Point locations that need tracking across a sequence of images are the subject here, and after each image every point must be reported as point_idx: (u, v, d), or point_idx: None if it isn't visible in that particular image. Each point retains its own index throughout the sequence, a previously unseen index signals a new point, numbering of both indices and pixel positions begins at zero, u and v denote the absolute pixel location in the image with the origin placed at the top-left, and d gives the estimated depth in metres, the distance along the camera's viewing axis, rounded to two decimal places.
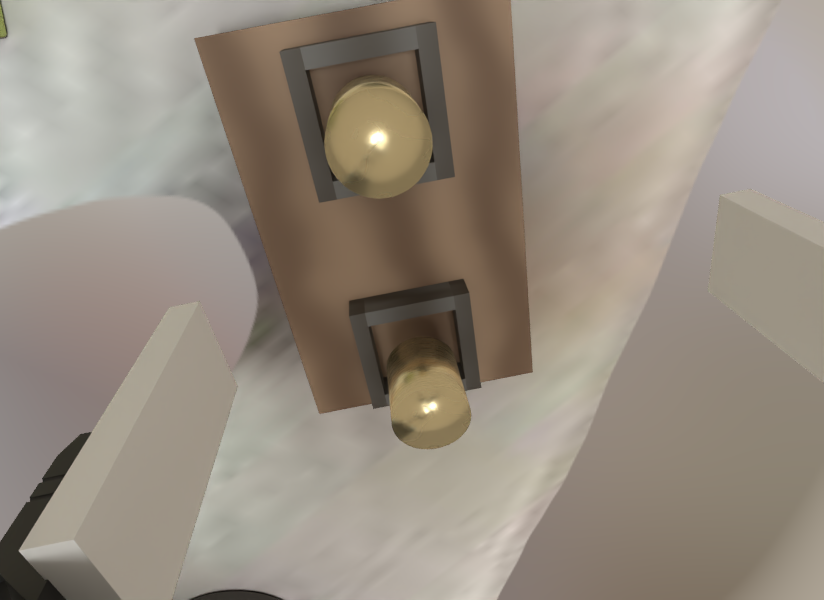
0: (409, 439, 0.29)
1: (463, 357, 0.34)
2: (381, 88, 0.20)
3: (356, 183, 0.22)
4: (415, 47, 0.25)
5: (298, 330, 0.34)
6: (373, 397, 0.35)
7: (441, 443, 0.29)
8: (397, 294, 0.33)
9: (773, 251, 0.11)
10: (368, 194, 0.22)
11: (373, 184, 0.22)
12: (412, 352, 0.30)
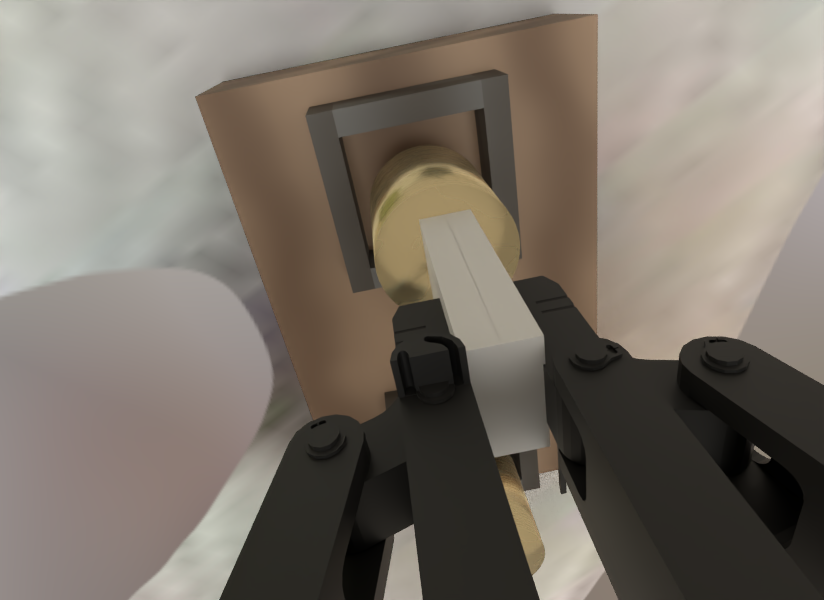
0: None
1: (521, 456, 0.29)
2: (455, 184, 0.15)
3: (415, 302, 0.16)
4: (480, 106, 0.19)
5: None
6: None
7: None
8: None
9: None
10: None
11: None
12: None
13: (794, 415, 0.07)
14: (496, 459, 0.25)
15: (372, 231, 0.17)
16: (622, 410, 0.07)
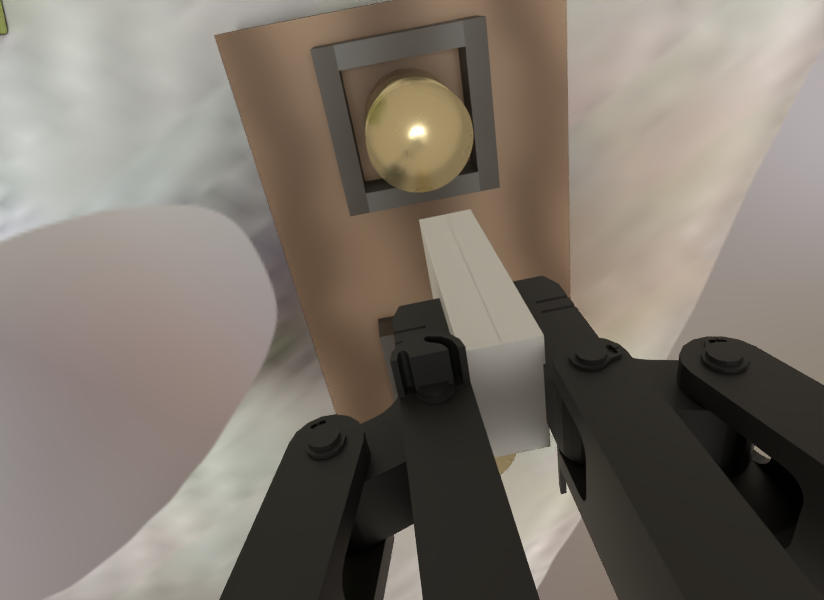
0: None
1: None
2: (424, 82, 0.20)
3: (396, 177, 0.22)
4: (461, 44, 0.22)
5: (323, 350, 0.32)
6: None
7: None
8: None
9: None
10: (407, 188, 0.22)
11: (412, 178, 0.22)
12: None
13: (794, 415, 0.07)
14: None
15: (365, 126, 0.22)
16: (622, 410, 0.07)
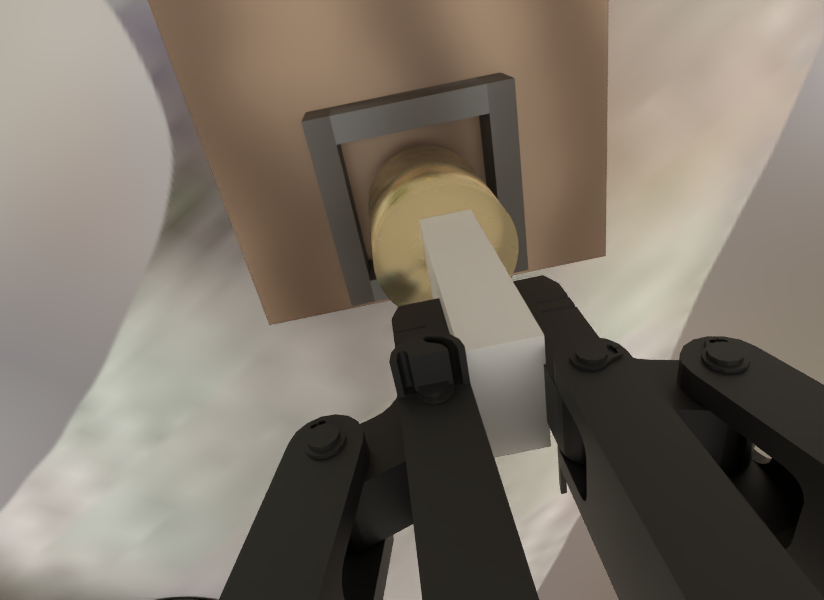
0: (406, 299, 0.16)
1: None
2: None
3: None
4: None
5: (222, 169, 0.20)
6: (352, 284, 0.21)
7: None
8: (387, 97, 0.19)
9: None
10: None
11: None
12: (410, 159, 0.18)
13: (795, 414, 0.07)
14: (453, 156, 0.18)
15: None
16: (623, 410, 0.07)
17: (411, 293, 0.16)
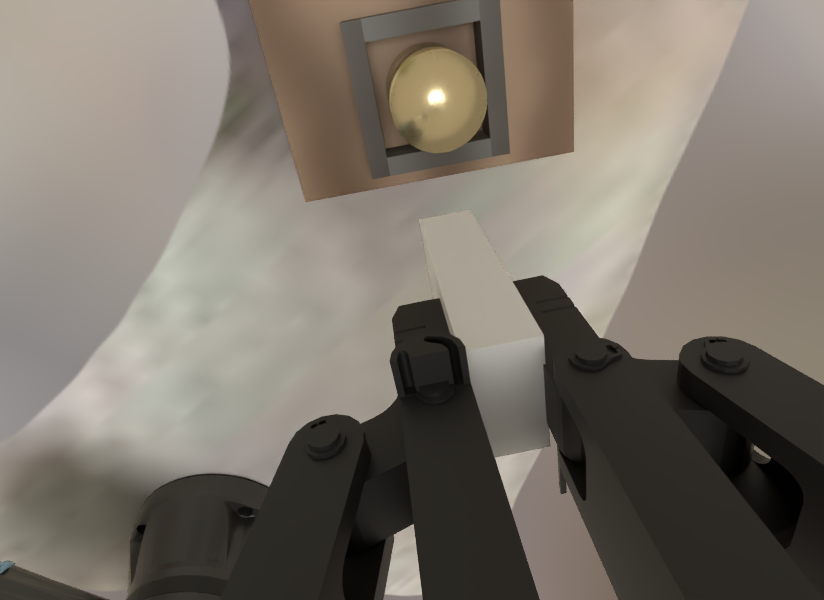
0: (412, 135, 0.24)
1: (488, 102, 0.27)
2: None
3: None
4: None
5: (276, 67, 0.27)
6: (373, 160, 0.28)
7: (450, 144, 0.24)
8: (403, 9, 0.26)
9: None
10: None
11: None
12: (416, 47, 0.25)
13: (794, 415, 0.07)
14: None
15: None
16: (622, 410, 0.07)
17: (415, 131, 0.24)
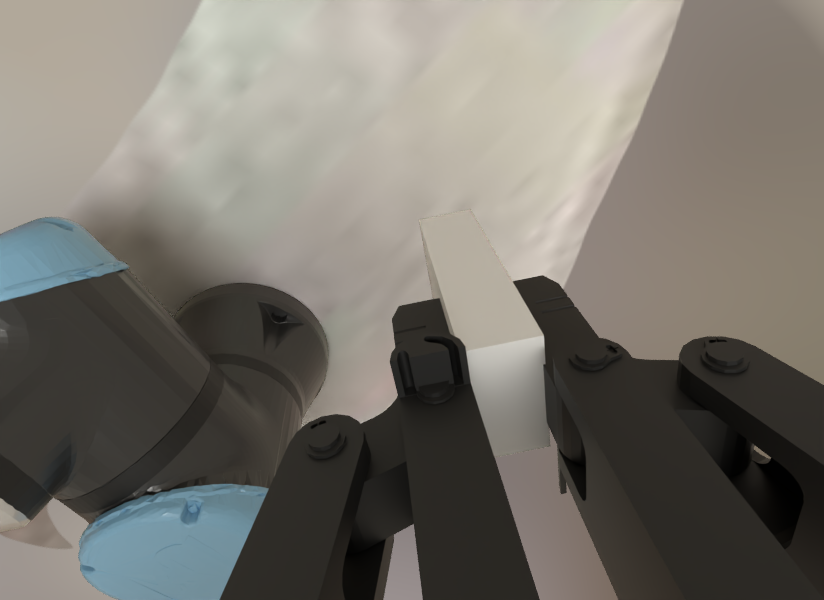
0: None
1: None
2: None
3: None
4: None
5: None
6: None
7: None
8: None
9: None
10: None
11: None
12: None
13: (794, 415, 0.07)
14: None
15: None
16: (622, 410, 0.07)
17: None
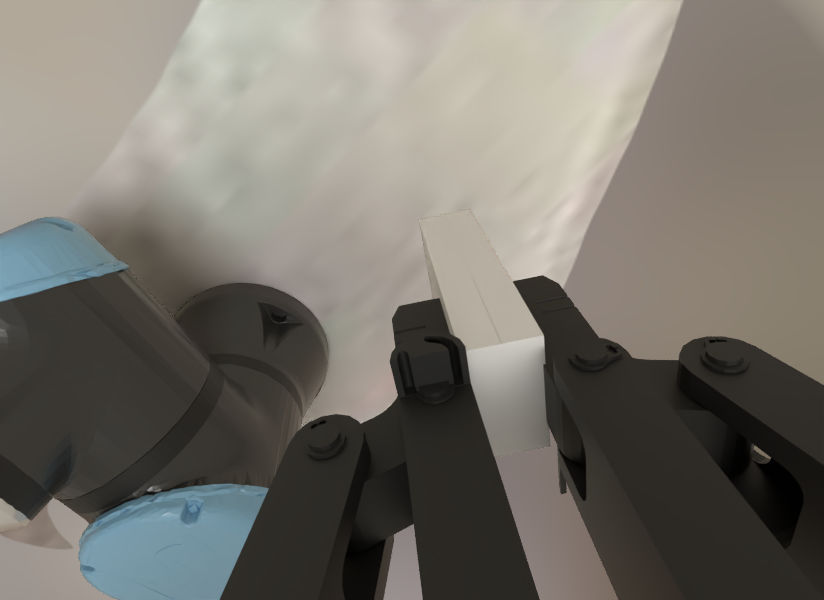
0: None
1: None
2: None
3: None
4: None
5: None
6: None
7: None
8: None
9: None
10: None
11: None
12: None
13: (794, 415, 0.07)
14: None
15: None
16: (622, 410, 0.07)
17: None
